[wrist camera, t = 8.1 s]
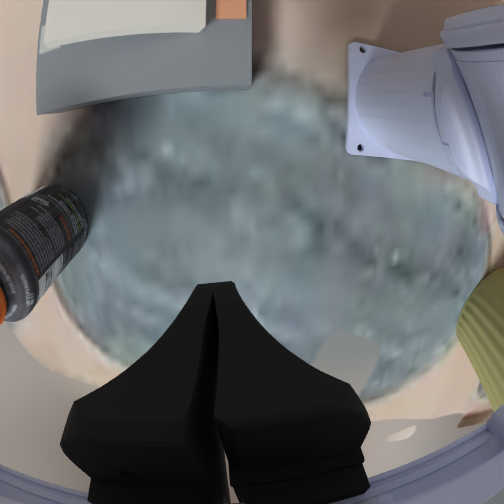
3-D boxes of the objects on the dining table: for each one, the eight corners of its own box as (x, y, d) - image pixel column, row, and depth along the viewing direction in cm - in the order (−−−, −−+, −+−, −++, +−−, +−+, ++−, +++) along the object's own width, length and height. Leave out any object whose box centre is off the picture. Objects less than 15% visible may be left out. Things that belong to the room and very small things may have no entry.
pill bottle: (22, 188, 18) (-79, 252, 7) (83, 178, 18) (-22, 248, 8) (38, 257, 20) (-38, 345, 10) (96, 255, 21) (26, 360, 11)
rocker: (200, -20, 11) (207, -28, 10) (198, 32, 12) (205, 26, 11) (55, -9, 8) (52, -17, 7) (48, 48, 9) (43, 42, 8)
